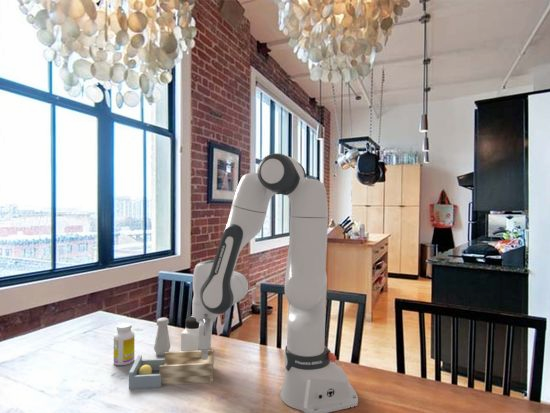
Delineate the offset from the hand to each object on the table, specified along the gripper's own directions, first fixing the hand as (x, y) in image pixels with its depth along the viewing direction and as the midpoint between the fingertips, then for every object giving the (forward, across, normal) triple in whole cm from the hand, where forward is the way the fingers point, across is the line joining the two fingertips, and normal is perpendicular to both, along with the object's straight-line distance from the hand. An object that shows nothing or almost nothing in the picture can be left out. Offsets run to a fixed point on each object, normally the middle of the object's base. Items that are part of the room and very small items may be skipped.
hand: (205, 351), depth 109 cm
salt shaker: (+8, +18, +16) cm, 25 cm away
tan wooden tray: (+8, 0, +6) cm, 9 cm away
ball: (+5, 0, +19) cm, 19 cm away
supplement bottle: (+8, +12, +28) cm, 32 cm away
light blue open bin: (+8, 0, +18) cm, 19 cm away
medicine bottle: (+8, +20, +6) cm, 23 cm away
